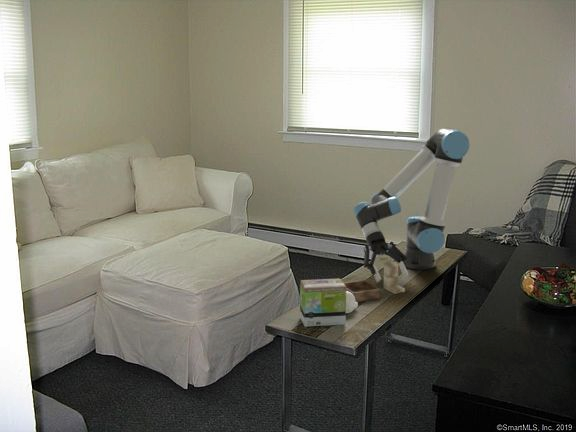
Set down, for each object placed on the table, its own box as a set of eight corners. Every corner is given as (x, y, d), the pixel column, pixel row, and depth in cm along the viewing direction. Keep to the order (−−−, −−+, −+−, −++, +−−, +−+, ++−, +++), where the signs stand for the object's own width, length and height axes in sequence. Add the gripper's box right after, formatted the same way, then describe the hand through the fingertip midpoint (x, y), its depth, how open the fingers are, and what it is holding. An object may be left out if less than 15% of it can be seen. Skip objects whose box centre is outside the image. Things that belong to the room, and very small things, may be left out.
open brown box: (365, 289, 272) (365, 280, 271) (380, 298, 260) (380, 289, 260) (338, 292, 268) (338, 283, 267) (353, 302, 256) (353, 293, 255)
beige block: (393, 286, 275) (394, 261, 273) (404, 291, 268) (405, 266, 266) (383, 288, 273) (384, 262, 271) (394, 293, 266) (395, 267, 264)
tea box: (304, 328, 231) (304, 288, 228) (299, 318, 241) (299, 279, 238) (346, 325, 234) (346, 285, 230) (339, 315, 243) (339, 277, 240)
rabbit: (330, 316, 242) (330, 285, 240) (322, 308, 251) (322, 278, 248) (361, 312, 246) (361, 282, 243) (351, 304, 254) (351, 274, 252)
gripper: (394, 236, 289) (413, 278, 278) (345, 243, 278) (363, 287, 268) (401, 227, 283) (421, 269, 273) (351, 233, 272) (370, 278, 262)
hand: (393, 278), depth 270 cm, fingers open, 13 cm apart
